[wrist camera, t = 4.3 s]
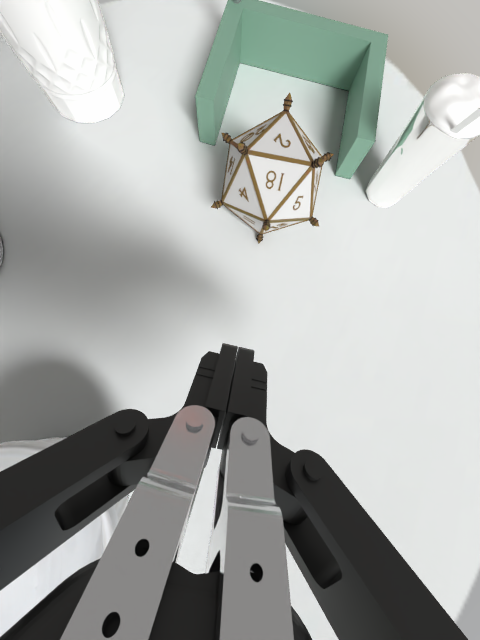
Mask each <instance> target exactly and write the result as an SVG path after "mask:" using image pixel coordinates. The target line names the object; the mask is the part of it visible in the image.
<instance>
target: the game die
mask: <svg viewBox="0 0 480 640" xmlns="http://www.w3.org/2000/svg"><path fill="white" fill-rule="evenodd" d="M292 102H293V101H292V99H291V94H290V93H289V94H288V96H287V97H286V98H285V99H284V104H283V105H284V110H283V111H282V112H281V113H279V114H277V115H275V116H273V117H272V118H270V119H268V120H266V121H264V122H263V123H261V124H259V125H257V126H255V127H254V128H252V129H250V130H248V131H247V132H245V133H243V134H241V135H239V136H238V137H236V138H234V139H231V136H229V135H228V133H222V136H223V141H226V143H229V151H228V158H227V165H226V171H225V178H224V185H223V192H222V199H221V201H218V200H217V201H216V202H215V201H214V203H213V205H212V208H217V209H218V208H219V207H221V206H222V205H224V206H225V207H227V208H228V209H229V210H230V211H232V212H233V213H234V214H235V215H237V216H238V217H239V218H240V219H242V220H243V221H244V222H245V223H247V224H248V225H249V226H250V227H252V228H253V229H254V230H255V231H257V232H258V233H259V234H258V235H257V238H256V239H257V240H258V243H260V242H261V241H262V240H263V239H262V238H263V234H265V233H268V232H271V231H275V230H278V229H281V228H285V227H288V226H291V225H295V224H298V223H301V222H304V221H308V220H309V221H310V222H311V223H310V224H312V225H313V226H319V224H318V220H317V219H316V218H313V217H312V215H313V210H314V205H315V200H316V195H317V190H318V185H319V180H320V175H321V170H322V165H323V164H324V161H325V162H326V161H327V160H328V161H329V160H330V159H331V157H332V156H333V155H334V154H331V153H329V152H327V154H324V155H323V156H321V154H320V153H319V152H318V150H317V149H316V148H315V146H314V145H313V144H312V142H311V141H310V140H309V138H308V137H307V136H306V134H305V133H304V132H303V130H302V129H301V128H300V126H299V125H298V124H297V122H296V121H295V120H294V118H293V117H292V116H291V114H290V113H289V109H290V107H291V103H292Z"/></svg>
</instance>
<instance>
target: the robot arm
mask: <svg viewBox="0 0 480 640" xmlns="http://www.w3.org/2000/svg"><path fill="white" fill-rule="evenodd" d="M2 258H3V246H2V240H1V237H0V266H1V263H2ZM237 349H238V347H237V346H233V345H229V344H224V343H223V344H222V347H221V351H220V354H218V353H214V352H210V351H209V352H208V353H207V354H205V355H204V356H203V357H202V358H201V361H200V364H199V367H198V369H197V372H196V375H195V377H194V380H193V383H192V386H191V388H190V391H189V394H188V397H187V399H186V402H185V404H184V406H183V407H182V409H181V410H180V411H179V412H177V413H176V414H174V415H172V416H169V417H166V418H157V419H147V417H146V416H145V414H144V413H142V412H140V411H138V410H135V409H126V410H121V411H118V412H116V413H114V414H112V415H110V416H108V417H106V418H104V419H102V420H100V421H98V422H96V423H94V424H92V425H91V426H89V427H87V428H85V429H83V430H81V431H79V432H77V433H75V434H73V435H71V436H69V437H67V438H65V439H63V440H61V441H59V442H57V443H55V444H53V445H51V446H49V447H48V448H46V449H44V450H42V451H40V452H38V453H36V454H34V455H32V456H30V457H28V458H26V459H24V460H22V461H20V462H18V463H16V464H14V465H12V466H10V467H8V468H6V469H4V470H3V471H1V472H0V591H1V590H2V589H3V588H5V587H6V586H7V585H9V584H10V583H11V582H13V581H14V580H15V579H17V578H18V577H19V576H21V575H22V574H23V573H25V572H26V571H27V570H28V569H30V568H31V567H32V566H34V565H35V564H36V563H38V562H39V561H40V560H42V559H43V558H44V557H46V556H47V555H48V554H50V553H51V552H52V551H54V550H55V549H56V548H58V547H59V546H60V545H62V544H63V543H64V542H66V541H67V540H68V539H70V538H71V537H72V536H74V535H75V534H76V533H77V532H79V531H80V530H81V529H83V528H84V527H85V526H87V525H88V524H89V523H91V522H92V521H93V520H95V519H96V518H97V517H99V516H100V515H101V514H103V513H104V512H105V511H107V510H108V509H109V508H111V507H112V506H113V505H115V504H116V503H117V502H119V501H120V500H121V499H123V498H124V497H125V496H127V495H128V494H129V493H130V492H132V491H133V490H134V489H135V490H134V492H133V494H132V496H131V498H130V500H129V502H128V504H127V506H126V508H125V510H124V512H123V514H122V516H121V518H120V520H119V522H118V524H117V526H116V529H115V531H114V533H113V535H112V537H111V539H110V541H109V543H108V545H107V547H106V549H105V551H104V553H103V555H102V557H101V558H100V559H98V560H96V561H93V562H91V563H89V564H87V565H86V566H84V567H82V568H81V569H79V570H77V571H76V572H75V573H73V574H72V575H71V576H69V577H68V578H66V579H65V580H64V581H63V582H62V583H61V584H59V585H58V586H57V587H56V588H55V589H54V590H53V591H51V592H50V593H49V594H48V595H47V596H46V597H45V598H44V599H42V600H41V601H40V602H39V603H38V604H37V605H36V606H35V607H33V608H32V609H31V610H30V611H29V612H28V613H27V614H26V615H24V616H23V617H22V618H21V619H20V620H19V621H18V622H17V623H15V624H14V625H13V626H12V627H11V628H10V629H9V630H8V631H6V632H5V633H4V634H3V635H2V636H1V637H0V640H312V638H311V636H310V634H309V632H308V630H307V629H306V627H305V625H304V624H303V622H302V620H301V619H300V617H299V616H298V614H297V613H296V612H295V610H294V609H293V607H292V606H291V602H290V591H289V580H288V570H287V559H286V548H285V543H286V545H287V547H288V549H289V550H290V552H291V554H292V556H293V558H294V560H295V561H296V563H297V565H298V567H299V569H300V570H301V572H302V574H303V576H304V578H305V579H306V581H307V583H308V585H309V587H310V588H311V590H312V592H313V594H314V596H315V597H316V599H317V601H318V603H319V605H320V606H321V608H322V610H323V612H324V614H325V616H326V617H327V619H328V621H329V623H330V625H331V626H332V628H333V630H334V632H335V634H336V635H337V637H338V639H339V640H468V639H467V638H466V636H465V635H464V634H463V633H462V631H461V630H460V629H459V628H458V626H457V625H456V624H455V623H454V621H453V620H452V619H451V618H450V616H449V615H448V614H447V613H446V611H445V610H444V609H443V608H442V606H441V605H440V604H439V602H438V601H437V600H436V599H435V597H434V596H433V595H432V594H431V592H430V591H429V590H428V589H427V587H426V586H425V585H424V584H423V582H422V581H421V580H420V579H419V577H418V576H417V575H416V574H415V572H414V571H413V570H412V569H411V567H410V566H409V565H408V564H407V562H406V561H405V560H404V559H403V557H402V556H401V555H400V554H399V552H398V551H397V550H396V549H395V547H394V546H393V545H392V544H391V542H390V541H389V540H388V539H387V537H386V536H385V535H384V534H383V532H382V531H381V530H380V529H379V527H378V526H377V525H376V524H375V522H374V521H373V520H372V519H371V517H370V516H369V515H368V514H367V512H366V511H365V510H364V509H363V507H362V506H361V505H360V504H359V502H358V501H357V500H356V499H355V497H354V496H353V495H352V494H351V492H350V491H349V490H348V488H347V487H346V486H345V485H344V483H343V482H342V481H341V480H340V478H339V477H338V476H337V475H336V473H335V472H334V471H333V470H332V468H331V467H330V466H329V465H328V463H327V462H326V461H325V460H324V459H323V458H322V457H321V456H320V455H318V454H317V453H315V452H313V451H310V450H300V451H297V452H296V453H294V452H293V451H291V450H289V449H287V448H286V447H284V446H282V445H281V444H279V443H278V442H277V441H275V439H274V438H273V437H272V436H271V435H270V433H269V431H268V428H267V425H266V407H267V371H266V369H265V367H264V365H263V364H261V363H257V362H253V360H254V350H250V349H246V348H242V347H239V349H238V352H237ZM236 354H237V356H236ZM235 359H236V360H235ZM220 430H221V431H220ZM219 433H220V436H219ZM218 437H219V441H218ZM217 441H218V446H217V449H222V456H221V462H220V465H219V468H218V474H217V484H216V493H215V503H214V512H213V522H212V530H211V537H210V542H209V547H208V554H207V562H206V571H205V573H204V574H193V573H191V572H189V571H188V570H186V569H185V568H183V567H182V566H180V565H178V564H177V563H176V562H177V559H178V555H179V552H180V549H181V545H182V542H183V538H184V535H185V531H186V527H187V524H188V521H189V517H190V514H191V511H192V507H193V504H194V501H195V497H196V494H197V491H198V487H199V484H200V481H201V477H202V474H203V471H204V468H205V467H206V465H207V462H208V459H209V455H210V451H211V447H212V448H216V444H217Z"/></svg>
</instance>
